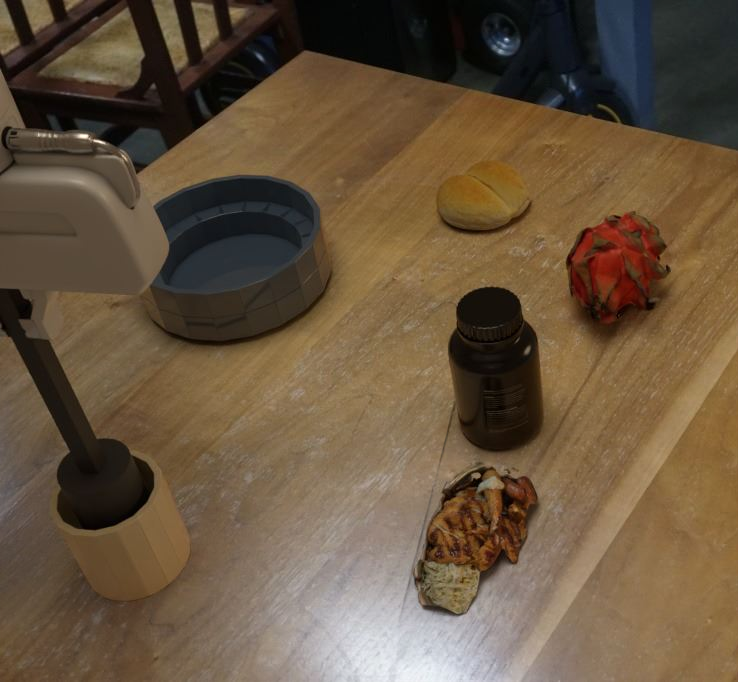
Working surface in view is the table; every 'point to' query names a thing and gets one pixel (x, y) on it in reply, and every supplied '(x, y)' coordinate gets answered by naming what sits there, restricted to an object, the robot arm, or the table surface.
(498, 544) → the brown food piece
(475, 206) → the bread roll
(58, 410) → the long black rod
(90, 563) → the crock
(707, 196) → the table surface
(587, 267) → the dragon fruit
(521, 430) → the supplement bottle
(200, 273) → the bowl
